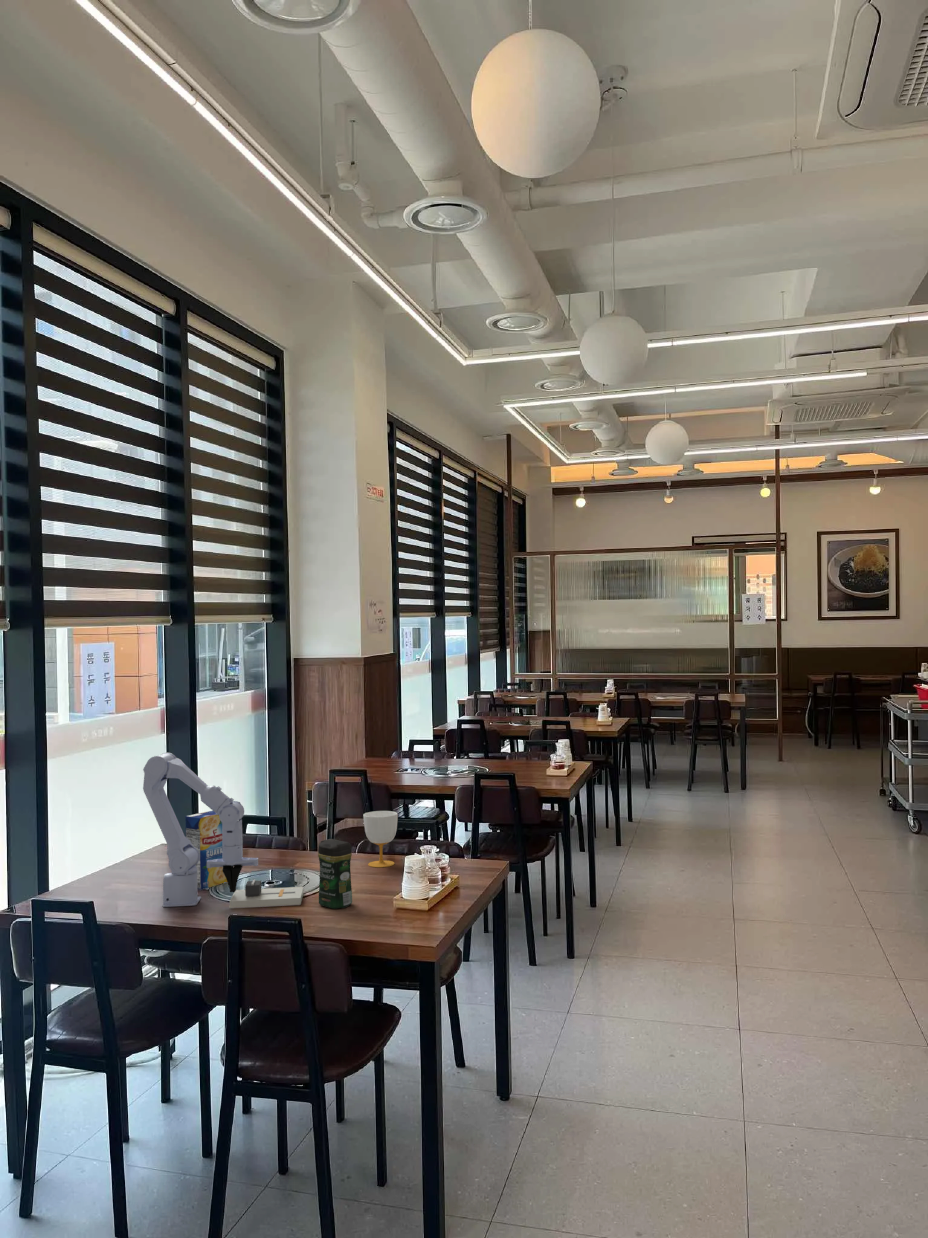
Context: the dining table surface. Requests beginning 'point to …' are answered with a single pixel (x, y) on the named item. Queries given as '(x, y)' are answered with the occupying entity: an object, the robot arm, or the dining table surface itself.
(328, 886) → the coffee jar
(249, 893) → the block
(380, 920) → the dining table surface
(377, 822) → the cup
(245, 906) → the control panel
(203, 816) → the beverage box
